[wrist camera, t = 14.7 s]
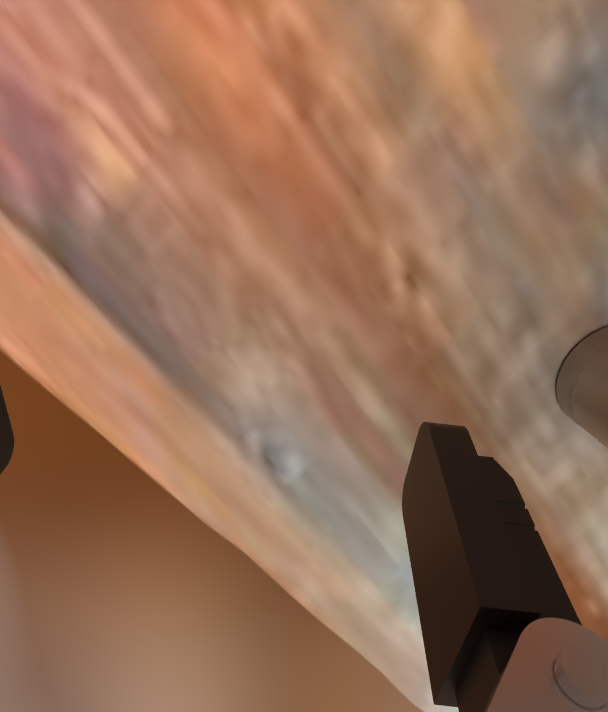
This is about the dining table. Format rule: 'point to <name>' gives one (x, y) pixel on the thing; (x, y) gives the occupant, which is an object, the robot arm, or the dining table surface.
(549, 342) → the dining table surface
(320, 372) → the dining table surface
